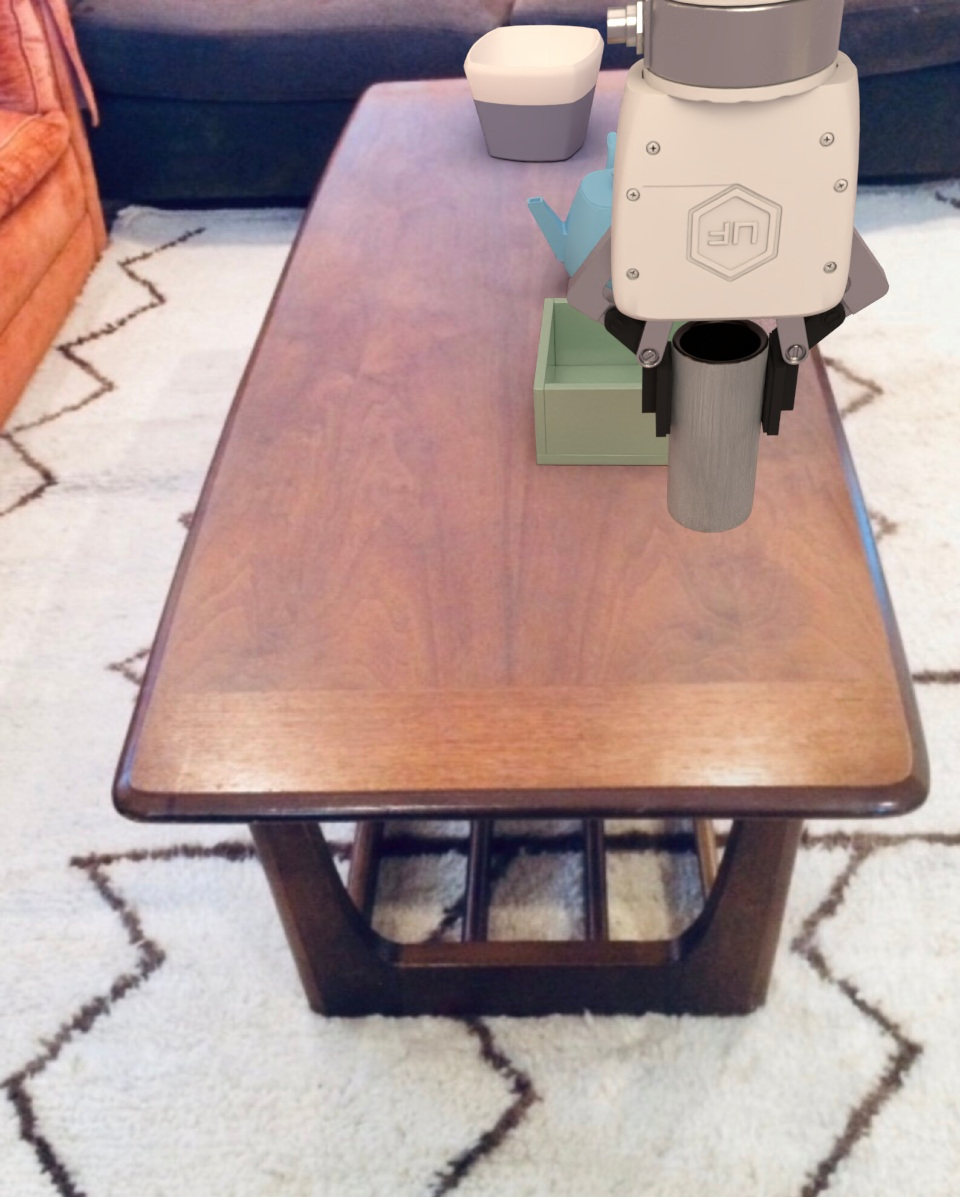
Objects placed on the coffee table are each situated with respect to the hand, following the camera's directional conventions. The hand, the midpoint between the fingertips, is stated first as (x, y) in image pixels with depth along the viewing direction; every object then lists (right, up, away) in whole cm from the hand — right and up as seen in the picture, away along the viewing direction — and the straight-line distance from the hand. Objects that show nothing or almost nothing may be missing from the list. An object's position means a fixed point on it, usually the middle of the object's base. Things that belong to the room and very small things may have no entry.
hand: (715, 417), depth 55 cm
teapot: (+1, +21, +51) cm, 55 cm away
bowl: (-5, +46, +77) cm, 90 cm away
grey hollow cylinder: (+1, -4, +4) cm, 6 cm away
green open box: (0, +6, +35) cm, 36 cm away
